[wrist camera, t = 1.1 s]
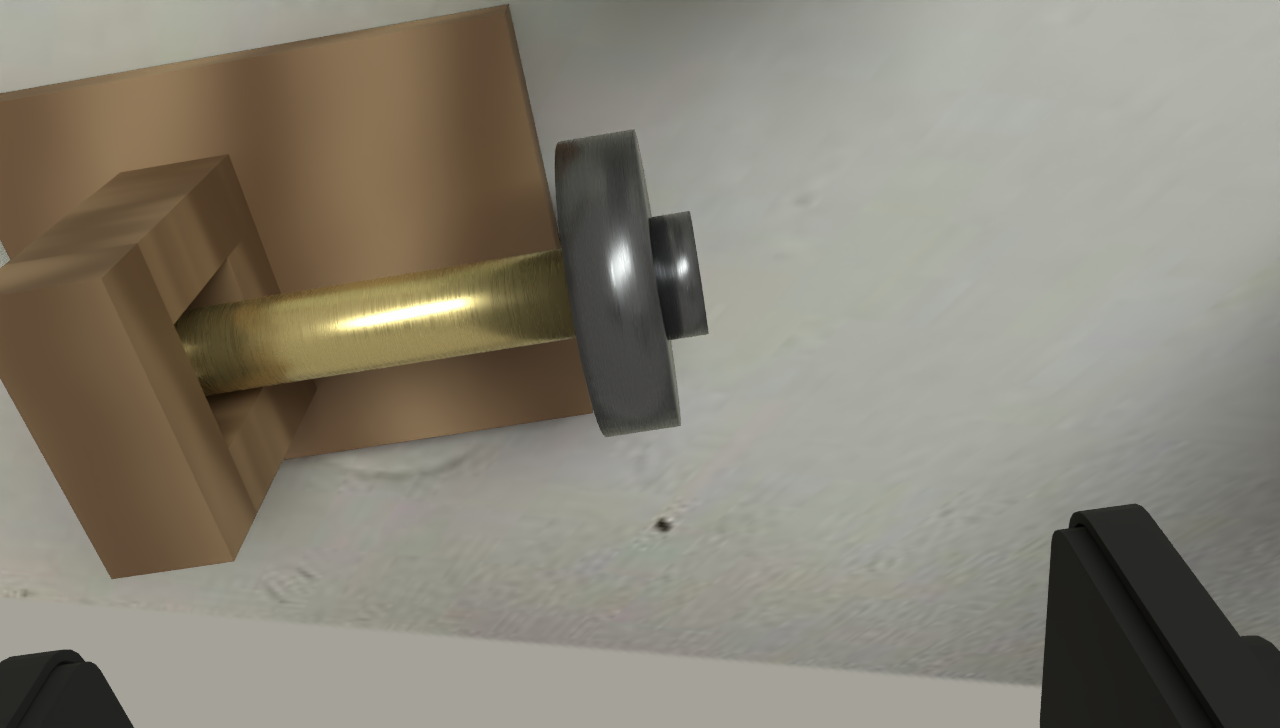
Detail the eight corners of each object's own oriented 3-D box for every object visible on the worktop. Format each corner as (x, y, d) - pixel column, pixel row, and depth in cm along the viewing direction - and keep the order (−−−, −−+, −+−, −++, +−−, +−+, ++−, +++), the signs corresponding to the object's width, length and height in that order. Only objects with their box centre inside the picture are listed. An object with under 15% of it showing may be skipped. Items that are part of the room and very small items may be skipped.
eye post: (508, 4, 26) (466, 97, 19) (593, 392, 32) (587, 587, 25) (-40, 100, 27) (-299, 228, 20) (140, 461, 33) (-4, 670, 25)
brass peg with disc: (670, 87, 26) (688, 184, 20) (705, 332, 30) (731, 479, 23) (43, 193, 27) (-127, 317, 21) (150, 418, 31) (33, 581, 24)
